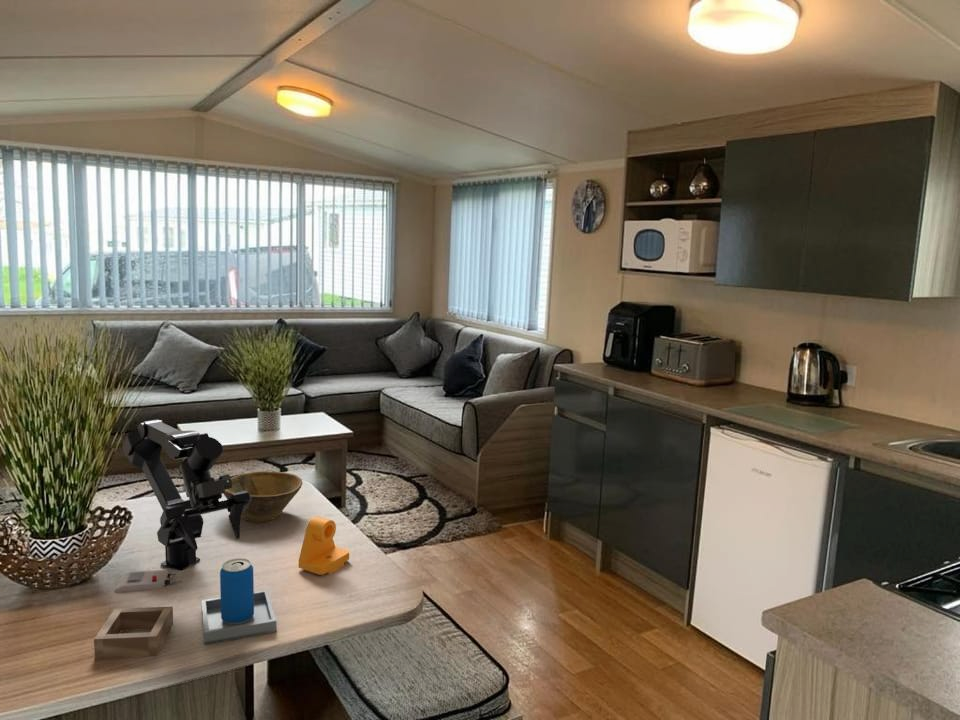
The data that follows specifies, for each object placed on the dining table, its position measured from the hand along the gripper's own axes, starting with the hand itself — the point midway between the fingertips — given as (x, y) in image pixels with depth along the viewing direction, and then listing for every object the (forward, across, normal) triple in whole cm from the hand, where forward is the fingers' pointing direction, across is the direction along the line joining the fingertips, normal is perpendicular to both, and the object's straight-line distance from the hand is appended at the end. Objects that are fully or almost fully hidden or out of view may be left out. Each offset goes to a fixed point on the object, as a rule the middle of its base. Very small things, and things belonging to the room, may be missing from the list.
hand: (217, 544), depth 151 cm
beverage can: (+17, 0, 0) cm, 17 cm away
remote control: (-2, -10, +21) cm, 24 cm away
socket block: (+14, -19, +4) cm, 24 cm away
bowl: (-18, +27, +37) cm, 49 cm away
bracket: (+9, +26, +9) cm, 29 cm away
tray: (+17, 0, +1) cm, 17 cm away
